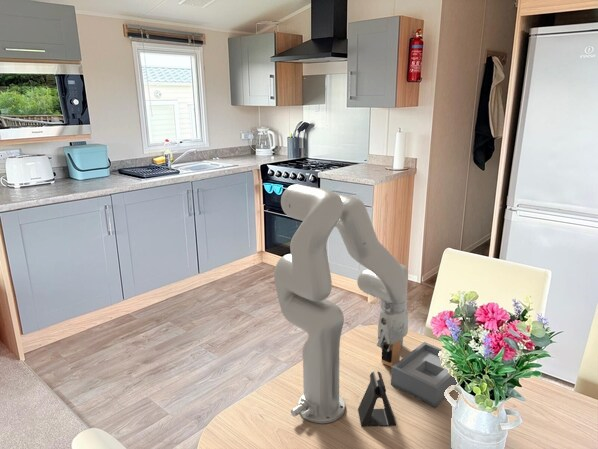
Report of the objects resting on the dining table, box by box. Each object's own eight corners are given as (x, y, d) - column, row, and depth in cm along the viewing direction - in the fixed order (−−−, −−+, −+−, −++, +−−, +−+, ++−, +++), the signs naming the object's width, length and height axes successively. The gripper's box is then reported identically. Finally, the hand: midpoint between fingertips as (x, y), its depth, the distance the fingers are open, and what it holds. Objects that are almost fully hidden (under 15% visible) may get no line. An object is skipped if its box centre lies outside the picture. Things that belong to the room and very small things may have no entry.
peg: (392, 367, 132) (393, 338, 130) (381, 362, 135) (382, 333, 132) (399, 362, 135) (401, 333, 132) (388, 356, 138) (390, 328, 135)
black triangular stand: (391, 409, 115) (393, 370, 112) (396, 426, 109) (398, 385, 106) (357, 410, 115) (358, 371, 112) (360, 426, 110) (361, 386, 106)
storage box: (435, 407, 116) (436, 388, 114) (390, 384, 125) (391, 366, 123) (465, 377, 128) (467, 359, 126) (423, 358, 137) (424, 341, 136)
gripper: (388, 317, 121) (385, 374, 126) (419, 299, 133) (415, 351, 138) (366, 309, 127) (364, 364, 132) (398, 291, 138) (395, 342, 143)
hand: (390, 357), depth 135 cm, fingers closed on peg, 4 cm apart
